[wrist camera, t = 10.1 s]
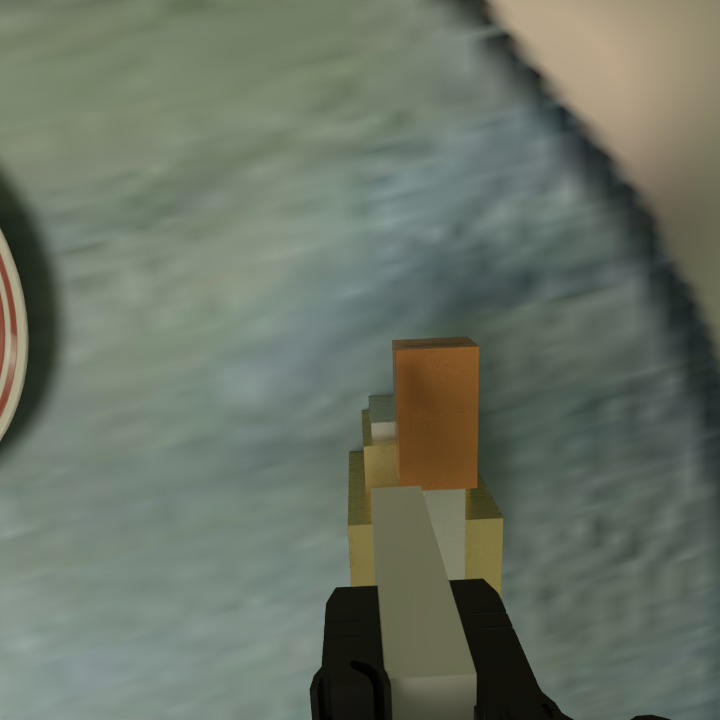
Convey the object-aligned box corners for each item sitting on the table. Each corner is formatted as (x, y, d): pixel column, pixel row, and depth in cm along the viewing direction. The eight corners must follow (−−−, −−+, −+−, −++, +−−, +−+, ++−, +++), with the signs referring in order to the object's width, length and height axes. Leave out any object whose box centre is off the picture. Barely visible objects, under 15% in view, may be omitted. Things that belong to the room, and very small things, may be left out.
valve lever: (397, 618, 26) (406, 686, 22) (389, 332, 22) (397, 352, 18) (457, 615, 26) (476, 683, 22) (458, 329, 22) (482, 348, 18)
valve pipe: (463, 594, 36) (498, 705, 28) (357, 599, 36) (358, 712, 28) (464, 391, 33) (505, 446, 24) (346, 397, 33) (343, 453, 24)
